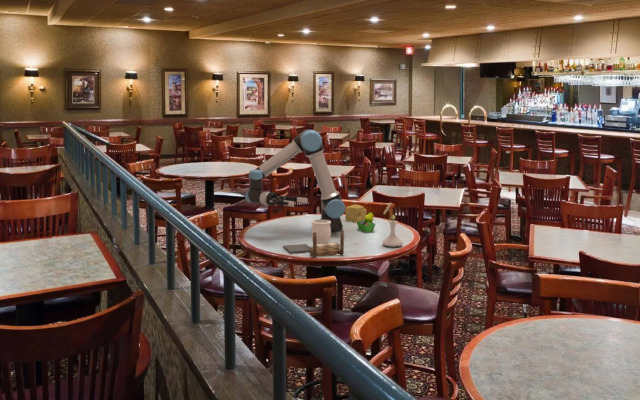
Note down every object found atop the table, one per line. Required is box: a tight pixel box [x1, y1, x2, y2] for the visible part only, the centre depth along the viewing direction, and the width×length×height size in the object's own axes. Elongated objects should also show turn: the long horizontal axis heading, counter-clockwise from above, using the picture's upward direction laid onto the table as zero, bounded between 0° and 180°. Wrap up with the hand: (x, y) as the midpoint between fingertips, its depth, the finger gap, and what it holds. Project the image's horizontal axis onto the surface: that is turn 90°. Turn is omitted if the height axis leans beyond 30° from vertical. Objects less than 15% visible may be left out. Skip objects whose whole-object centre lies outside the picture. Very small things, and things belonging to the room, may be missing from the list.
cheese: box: [344, 204, 368, 223], centre depth 424 cm, size 10×11×10 cm
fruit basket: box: [356, 212, 376, 233], centre depth 394 cm, size 11×9×11 cm
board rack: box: [309, 230, 345, 259], centre depth 335 cm, size 17×7×13 cm, turn 109°
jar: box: [310, 219, 332, 244], centre depth 350 cm, size 11×10×15 cm
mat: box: [282, 243, 312, 255], centre depth 347 cm, size 13×14×1 cm
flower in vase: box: [381, 202, 403, 248], centre depth 355 cm, size 13×11×25 cm
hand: (300, 202), depth 359 cm, fingers open, 13 cm apart
